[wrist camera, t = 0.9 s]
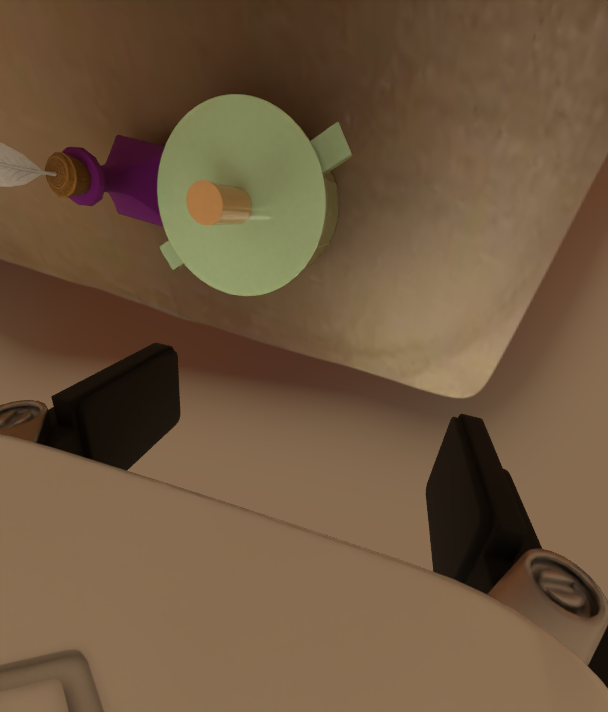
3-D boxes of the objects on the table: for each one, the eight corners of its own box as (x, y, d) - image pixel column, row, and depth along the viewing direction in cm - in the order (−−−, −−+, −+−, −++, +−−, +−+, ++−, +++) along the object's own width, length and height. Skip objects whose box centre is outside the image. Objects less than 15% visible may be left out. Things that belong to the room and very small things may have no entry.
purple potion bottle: (200, 156, 35) (32, 104, 19) (194, 230, 38) (46, 238, 22) (139, 141, 36) (-71, 78, 20) (138, 213, 39) (-43, 210, 23)
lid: (135, 169, 29) (74, 158, 24) (272, 50, 23) (232, -2, 18) (221, 318, 32) (185, 338, 27) (359, 246, 27) (349, 253, 21)
